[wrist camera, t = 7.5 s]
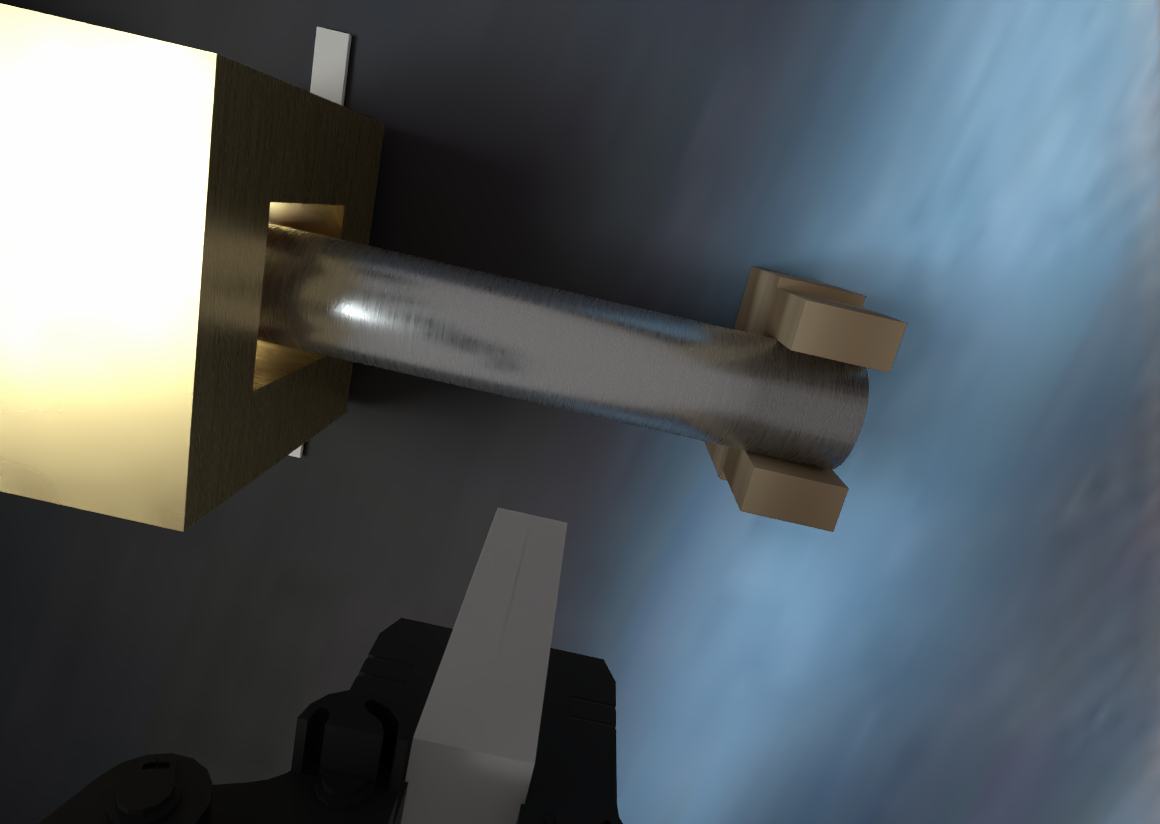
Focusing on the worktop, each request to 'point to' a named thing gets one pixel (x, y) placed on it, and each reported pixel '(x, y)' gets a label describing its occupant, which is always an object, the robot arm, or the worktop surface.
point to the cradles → (813, 327)
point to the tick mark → (329, 80)
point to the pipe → (558, 348)
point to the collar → (157, 266)
